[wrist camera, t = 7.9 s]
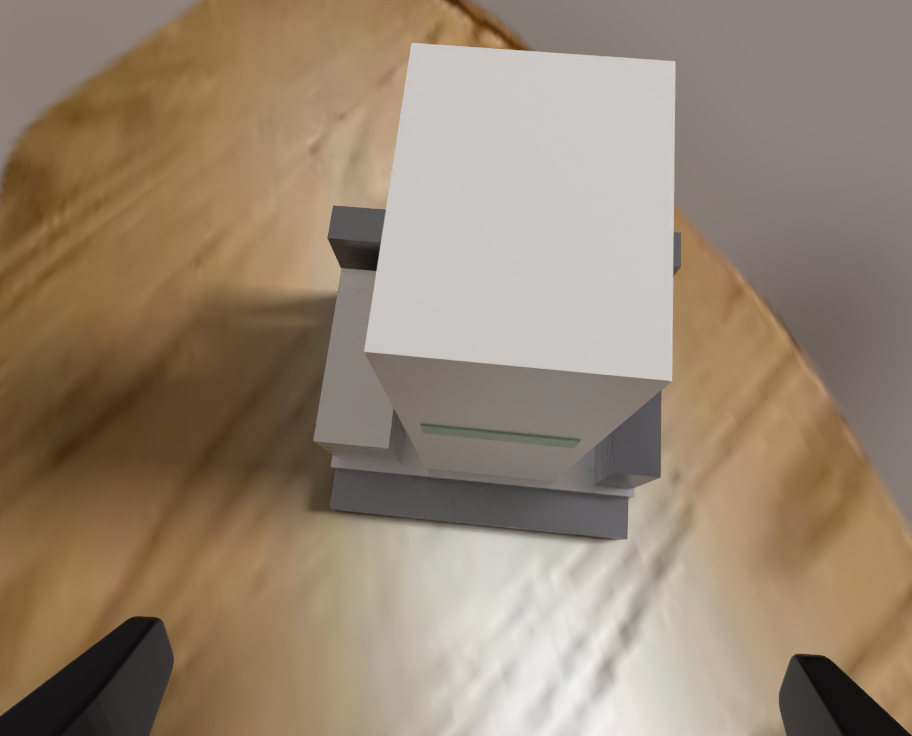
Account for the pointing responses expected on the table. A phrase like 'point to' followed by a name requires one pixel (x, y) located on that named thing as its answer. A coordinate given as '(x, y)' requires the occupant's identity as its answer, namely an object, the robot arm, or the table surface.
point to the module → (525, 255)
